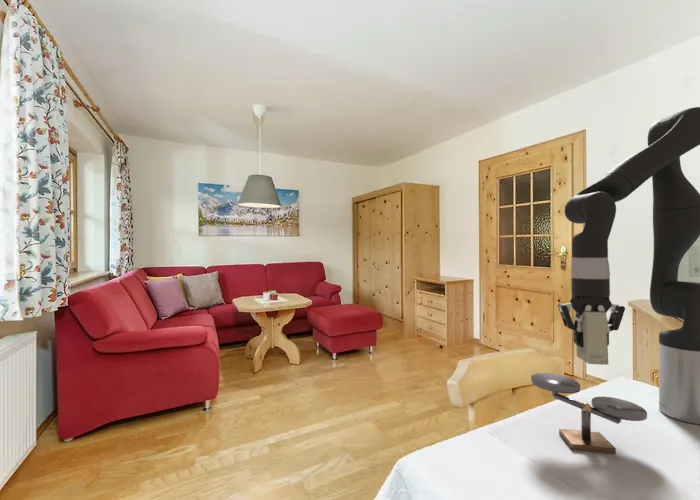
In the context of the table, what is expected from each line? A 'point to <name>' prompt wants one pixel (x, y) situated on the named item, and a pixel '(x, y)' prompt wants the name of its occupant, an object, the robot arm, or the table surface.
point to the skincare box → (594, 339)
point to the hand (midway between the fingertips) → (590, 346)
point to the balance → (588, 413)
